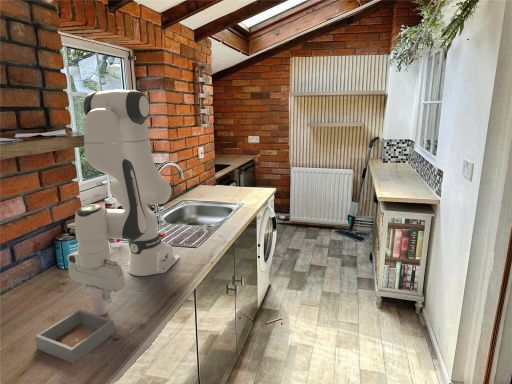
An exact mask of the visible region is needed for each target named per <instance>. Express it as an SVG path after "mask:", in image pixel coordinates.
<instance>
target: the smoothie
mask: <svg viewBox="0 0 512 384" xmlns="http://www.w3.org/2000/svg"><path fill="white" fill-rule="evenodd" d="M87 291H88V292H89V295H88V296H89V298H90V301H91V306H92V309H93V314H95V315H98V316H103V315H105V314H106V313H107V312H108V301H106V300H103V295H104V294H105V293H106V292H105V291H104V289H102V288H99V287H95V286H92V285H88V286H87V290H86V292H87Z"/></svg>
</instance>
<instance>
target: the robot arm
mask: <svg viewBox="0 0 512 384" xmlns="http://www.w3.org/2000/svg"><path fill="white" fill-rule="evenodd" d="M82 105H83V107H82V108H83V112H84V115H85V117H86V118H85V123H84V130H83V131H84V132H83V133H84V135H83V139H84V140H83V141H84V142H83V143H84V156H85V159H86V162H87V163H88V165H90V166H91V167H92V168H93V169H94V170H97V171H99V172H101V173H103V174H105V175H108V176H110V177H112V180H111V181H110V184H109V193H110V194H111V196H112V197H113V198H114V199H115V200H116V201H117V202H118V203H119V205H120V207H121V208H122V209H120V208H119V209H118V208H117V209H116V208H104V207H103V206H102V205H101V204H98V203H97V204H96V203H91V204H86V205H83V206H82V205H81V207H79V208H78V209H77V210H76V211H75V215H74V234H75V238H76V240H77V251H73V252H72V253H69V254H68V255H66V260H67V262H68V273H69V277H70V280H72V281H75V282H77V283H80V284H82V285H83V287H84V289H85V290H86V294H87V296H89V292H88V291H87V286H88V285H92V286H95V287H99V288H102V289H104V291H105V292H106V293H105V294H104V295H103V300H106V301H107V302H108V301H109V300H111V298H112V297H111V295H112V294H111V293H112V292H114V293H118V292H120V291H121V290H123V289H124V287H126V280H125V275H124V271H123V269H122V267H121V266H122V265H120V264H119V263H118V262H117V261H112V260H111V254H110V251H111V250H110V245H109V241H108V239H121V240H127V241H128V247H129V250H128V262H127V273H129V274H130V275H132V276H137V277H138V276H139V277H145V276H151V275H157V274H158V275H159V274H165V273H166V272H167V271H168V270H169V269H170V268H172V267H173V265H175V263H176V262H177V261H179V259H180V255H178V254H176V253H174V249H173V247H172V246H171V244H169V243H167V242H165V241H163V240H162V239H165V237H166V233H165V232H159V228H158V217H157V215H156V213H155V212H154V211H152V210H151V209H150V208H149V206H148V205H150V206H155V205H162V204H163V205H164V204H166V203H167V202H168V201H169V200H170V198H171V194H172V187H171V184H170V182H169V181H168V180H167V179H166V178H165V177H163V175H162V174H161V172H160V171H159V169H158V168H157V166H156V164H155V162H154V158H153V154H152V148H151V140H150V133H149V127H148V124H147V119H148V117H149V116H150V112H151V104H150V100H149V98H148V97H147V96H146V94H145V93H144V92H143V91H139V90H135V89H131V90H126V89H113V90H103V91H93V92H90V93H87V95H86V96H85V98H84V100H83V103H82Z"/></svg>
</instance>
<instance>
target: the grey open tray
mask: <svg viewBox="0 0 512 384" xmlns="http://www.w3.org/2000/svg"><path fill="white" fill-rule="evenodd" d="M79 324H82V325H85V326H88V327H91V328H93V329H96V330H95V331H93V332H91V333H92V334H91V335H89V336H88V337H86V338H85V339H83V340H82V341H81V342H79V343H78V344H76V345H75V346H73V347H70V346H67V345H65V344H62V343H61V342H59V341H56V339H58V338H59V337H61V336H62V335H64V334H66V333H67V332H69V331H70V330H71V329H73V328H75V327H76V326H78V325H79ZM115 332H116V330H115V321H114V320H113V319H110V318H107V317H105V316H102V315H100V316H98V315H95V314H94V313H92V312H88V311H86V310H81V309H77V310H76V311H74V312H73V313H71V314H69V315H68V316H65V317H64V318H63V319H61V320H59V321H57V322H56V323H54V324H52V325H51V326H50V327H47V328H46V329H44V330H43V331H40V332H39V333H38V334H36V335H35V336H34V337H35V338H34V339H35V343H36V348H37V349H38V350H39V351H42V352H43V353H47V354H50V355H51V356H54V357H57V358H59V359H62V360H64V361H66V362H68V363H71V364H75V363H76V362H78V361H79V360H80V359H81V358H83V357H84V356H86V355H87V354H88V353H90V352H91V351H92V350H93V349H95V348H96V347H98V346H99V345H100V344H102V343H103V342H105V340H107V339H108V338H109V337H111V336H112V335H113V334H115Z"/></svg>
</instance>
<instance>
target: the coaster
mask: <svg viewBox="0 0 512 384" xmlns="http://www.w3.org/2000/svg"><path fill="white" fill-rule="evenodd" d="M92 333H93V332H92V331H90V330H85V329H82V330H76V331H74V332H71V333H69V334H67V335H66V336H65V337H63V338H62V340H61V342H60V343H62V344H65V345H67V346H70V347H73V346H75V345H76V344H78V343H79V342H81V341H82V340H83V339H85V338H86V337H88V336H89V335H91V334H92Z"/></svg>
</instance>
